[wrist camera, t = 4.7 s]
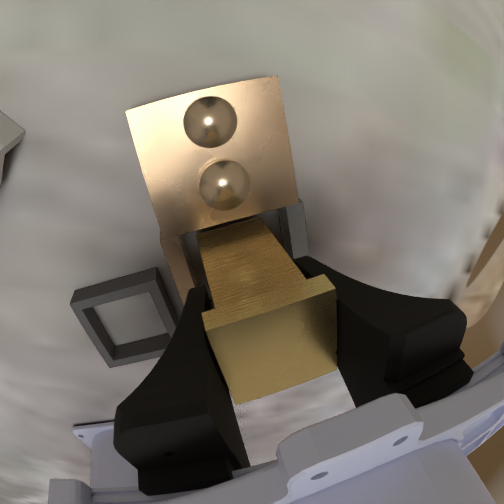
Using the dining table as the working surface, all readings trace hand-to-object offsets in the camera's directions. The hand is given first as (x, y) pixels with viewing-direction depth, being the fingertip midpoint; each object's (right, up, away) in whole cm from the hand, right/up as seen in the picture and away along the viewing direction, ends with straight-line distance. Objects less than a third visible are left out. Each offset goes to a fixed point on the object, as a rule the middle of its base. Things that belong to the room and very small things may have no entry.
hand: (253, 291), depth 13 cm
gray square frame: (-7, -2, +3) cm, 8 cm away
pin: (-1, +2, +2) cm, 3 cm away
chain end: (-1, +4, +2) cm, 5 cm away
